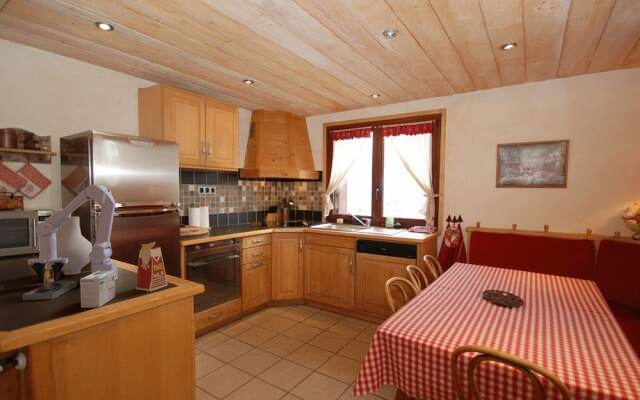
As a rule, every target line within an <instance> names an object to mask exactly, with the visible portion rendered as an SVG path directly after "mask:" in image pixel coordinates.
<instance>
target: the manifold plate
mask: <svg viewBox="0 0 640 400" xmlns="http://www.w3.org/2000/svg"><path fill="white" fill-rule="evenodd" d="M77 285H78V283H77V281H76V280H75V281H74V280H72V281H54V282H50V283H48V284H46V285H44V284H43V285H41V286H39V287H37V288H34V289H33V290H30V291H29V292H25V293H24V294H22V301H23V302H24V301H40V300H41V301H42V300H43V301H44V300H54V299H55V298H57V297H59V296H61V295H63V294H65V293H67V292H68V291H70V290H73V289H74V288H76V287H77Z"/></svg>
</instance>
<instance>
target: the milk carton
mask: <svg viewBox="0 0 640 400" xmlns="http://www.w3.org/2000/svg"><path fill="white" fill-rule="evenodd" d="M162 254H163V253H162V249H161V246H159V245H156V241H153V242H150V243H146V244H145V243H143V244H141V249H140V250H139V255H138V261H137V270H136V271H137V272H136V285H135V286H136V287H135V289H136V290H139V291H145V290H146V292H149V291H150V292H152V291H155V290H156V291H157V290H158V289H161V288H164V287H166V286H168V279H167V274H166V269H165V263H164V259H163V255H162Z"/></svg>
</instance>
